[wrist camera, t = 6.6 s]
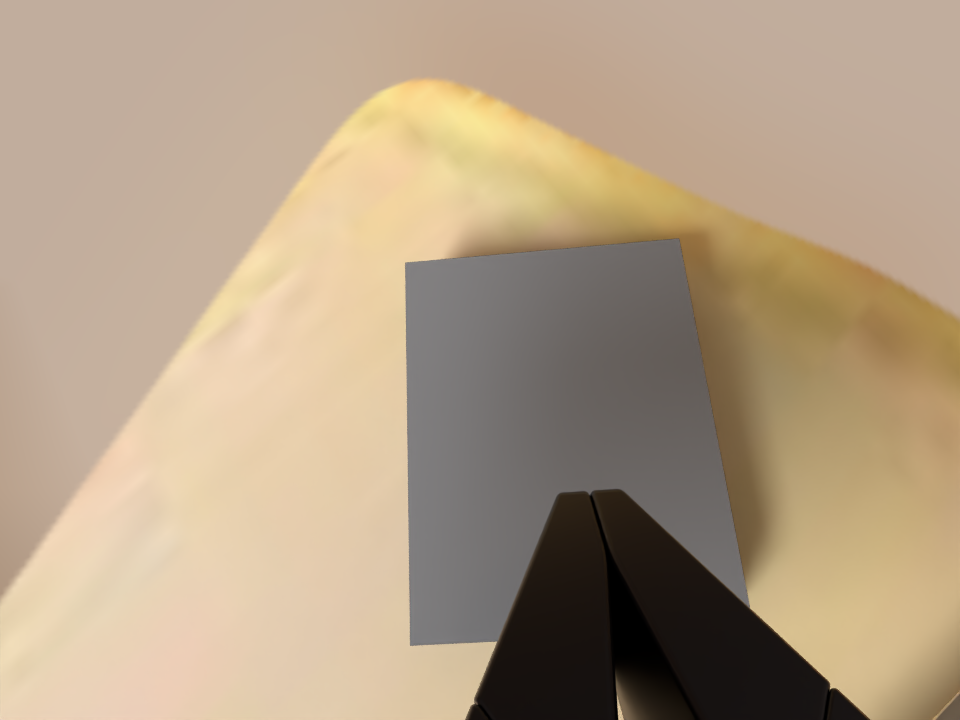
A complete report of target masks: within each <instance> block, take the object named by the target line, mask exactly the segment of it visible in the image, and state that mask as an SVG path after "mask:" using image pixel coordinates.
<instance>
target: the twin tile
mask: <svg viewBox="0 0 960 720" xmlns="http://www.w3.org/2000/svg"><path fill="white" fill-rule="evenodd" d="M933 720H960V691H959V692H958V693H957V694H956V695H955V696H954V697H953V698H952V699H951V700H950V701H949V702H948V703H947V705H946V706H945V707H944V708H943V709H942V710H941V711H940V712H939V713H938V714H937V715H936V716H935V717H934V718H933Z"/></svg>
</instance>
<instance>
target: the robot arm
mask: <svg viewBox="0 0 960 720" xmlns="http://www.w3.org/2000/svg"><path fill="white" fill-rule="evenodd" d="M617 696H618V700H619V703H620V707H621V710H622V714H623V718H624V720H870V719H869V718H868V717H867V716H866V715H865V714H864V713H863V712H862V711H860V710H859V709H858V708H857V707H856V706H855V705H854V704H853V703H852V702H851V701H850V700H849V699H848V698H846V697H845V696H844V695H843V694H842V693H841V692H840V691H839V690H838V689H836V688H832V689H830V683H829V681H828V680H827V679H826V678H825V677H823V676H822V675H821V674H820V673H819V672H818V671H817V670H816V669H815V668H814V667H813V666H812V665H811V664H809V663H808V662H807V661H806V660H805V659H804V658H803V657H802V656H801V655H800V654H799V653H798V652H797V651H795V650H794V649H793V648H792V647H791V646H790V645H789V644H788V643H787V642H786V641H785V640H784V639H783V638H781V637H780V636H779V635H778V634H777V633H776V632H775V631H774V630H773V629H772V628H771V627H770V626H769V625H767V624H766V623H765V622H764V621H763V620H762V619H761V618H760V617H759V616H758V615H757V614H756V613H755V612H754V611H752V610H751V609H750V608H749V607H748V606H747V605H746V604H745V603H744V602H743V601H742V600H741V599H740V598H738V597H737V596H736V595H735V594H734V593H733V592H732V591H731V590H730V589H729V588H728V587H727V586H726V585H724V584H723V583H722V582H721V581H720V580H719V579H718V578H717V577H716V576H715V575H714V574H713V573H712V572H710V571H709V570H708V569H707V568H706V567H705V566H704V565H703V564H702V563H701V562H700V561H699V560H698V559H696V558H695V557H694V556H693V555H692V554H691V553H690V552H689V551H688V550H687V549H686V548H685V547H684V546H682V545H681V544H680V543H679V542H678V541H677V540H676V539H675V538H674V537H673V536H672V535H671V534H670V533H669V532H667V531H666V530H665V529H664V528H663V527H662V526H661V525H660V524H659V523H658V522H657V521H656V520H655V519H653V518H652V517H651V516H650V515H649V514H648V513H647V512H646V511H645V510H644V509H643V508H642V507H641V506H639V505H638V504H637V503H636V502H635V501H634V500H633V499H632V498H631V497H630V496H629V495H628V494H627V493H625V492H624V491H623V490H621V489H605V490H594V491H592V492H591V494H590V495H589V493H588V492H586V491H575V492H562V493H559V494H558V495H557V496H556V498H555V501H554V503H553V506H552V508H551V511H550V513H549V516H548V518H547V520H546V523H545V525H544V528H543V530H542V533H541V535H540V538H539V540H538V543H537V545H536V548H535V550H534V553H533V555H532V557H531V560H530V562H529V565H528V567H527V570H526V572H525V575H524V577H523V580H522V582H521V585H520V587H519V589H518V592H517V594H516V597H515V599H514V602H513V604H512V607H511V609H510V612H509V614H508V617H507V619H506V622H505V624H504V626H503V629H502V631H501V634H500V636H499V639H498V641H497V644H496V646H495V649H494V651H493V654H492V656H491V658H490V661H489V663H488V666H487V668H486V671H485V673H484V676H483V678H482V681H481V683H480V686H479V688H478V691H477V693H476V695H475V698H474V703H475V704H473V705H472V706H471V707H470V709H469V712H468V714H467V717H466V719H465V720H618V709H617Z"/></svg>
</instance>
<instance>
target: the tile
mask: <svg viewBox="0 0 960 720" xmlns="http://www.w3.org/2000/svg"><path fill="white" fill-rule="evenodd" d="M405 280H406V358H407V436H408V513H409V591H410V646H414V645H434V644H454V643H474V642H495V641H498V639H499V636H500V634H501V631H502V629H503V626H504V624H505V622H506V619H507V617H508V614H509V612H510V609H511V607H512V604H513V602H514V599H515V597H516V594H517V592H518V589H519V587H520V585H521V582H522V580H523V577H524V575H525V572H526V570H527V567H528V565H529V562H530V560H531V557H532V555H533V553H534V550H535V548H536V545H537V543H538V540H539V538H540V535H541V533H542V530H543V528H544V525H545V523H546V520H547V518H548V516H549V513H550V511H551V508H552V506H553V503H554V501H555V498H556V496H557V495H558V494H559V493H562V492H575V491H586V492H588V493H589V495H590V494H591V492H592V491H594V490H605V489H621V490H623V491H624V492H625V493H627V494H628V495H629V496H630V497H631V498H632V499H633V500H634V501H635V502H636V503H637V504H638V505H639V506H641V507H642V508H643V509H644V510H645V511H646V512H647V513H648V514H649V515H650V516H651V517H652V518H653V519H655V520H656V521H657V522H658V523H659V524H660V525H661V526H662V527H663V528H664V529H665V530H666V531H667V532H669V533H670V534H671V535H672V536H673V537H674V538H675V539H676V540H677V541H678V542H679V543H680V544H681V545H682V546H684V547H685V548H686V549H687V550H688V551H689V552H690V553H691V554H692V555H693V556H694V557H695V558H696V559H698V560H699V561H700V562H701V563H702V564H703V565H704V566H705V567H706V568H707V569H708V570H709V571H710V572H712V573H713V574H714V575H715V576H716V577H717V578H718V579H719V580H720V581H721V582H722V583H723V584H724V585H726V586H727V587H728V588H729V589H730V590H731V591H732V592H733V593H734V594H735V595H736V596H737V597H738V598H740V599H741V600H742V601H743V602H744V603H745V604H746V605H747V606H748V607H749V608H750V605H749V600H748V595H747V590H746V585H745V579H744V574H743V569H742V564H741V559H740V553H739V548H738V543H737V538H736V532H735V527H734V522H733V517H732V512H731V506H730V501H729V496H728V491H727V485H726V480H725V475H724V470H723V465H722V459H721V454H720V449H719V444H718V439H717V433H716V428H715V423H714V418H713V412H712V407H711V402H710V397H709V392H708V386H707V381H706V376H705V371H704V366H703V360H702V355H701V350H700V345H699V339H698V334H697V329H696V324H695V319H694V313H693V308H692V303H691V298H690V292H689V287H688V282H687V277H686V272H685V266H684V261H683V256H682V251H681V246H680V240H679V239H667V240H656V241H645V242H634V243H622V244H611V245H600V246H588V247H577V248H566V249H554V250H543V251H532V252H521V253H509V254H498V255H487V256H475V257H464V258H453V259H441V260H430V261H419V262H407V263H405Z"/></svg>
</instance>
